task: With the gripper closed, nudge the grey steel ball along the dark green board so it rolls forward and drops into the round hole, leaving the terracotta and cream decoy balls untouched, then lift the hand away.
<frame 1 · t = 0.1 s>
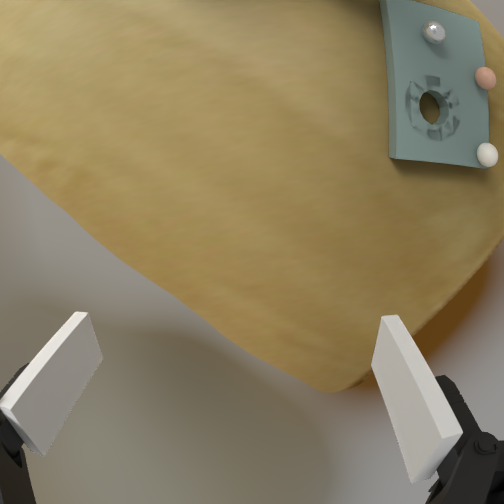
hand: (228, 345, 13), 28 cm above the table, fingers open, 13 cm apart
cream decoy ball: (487, 154, 31), point 4 cm above the table, touching board
board: (436, 82, 32), on the table
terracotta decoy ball: (485, 78, 27), point 4 cm above the table, touching board
steel ball: (434, 32, 26), point 4 cm above the table, touching board
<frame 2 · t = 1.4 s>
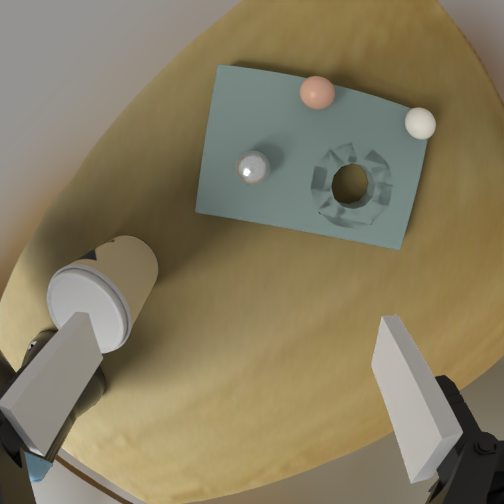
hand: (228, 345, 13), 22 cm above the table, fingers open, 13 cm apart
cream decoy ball: (420, 123, 25), point 4 cm above the table, touching board
coffee cup: (130, 264, 37), on the table
board: (315, 156, 31), on the table
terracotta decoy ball: (317, 92, 25), point 4 cm above the table, touching board
steel ball: (252, 167, 28), point 4 cm above the table, touching board
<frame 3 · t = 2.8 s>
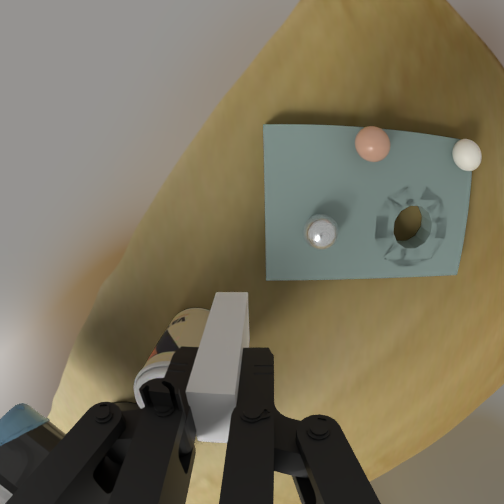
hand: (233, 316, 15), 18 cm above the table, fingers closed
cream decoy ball: (467, 154, 24), point 4 cm above the table, touching board
coffee cup: (200, 333, 38), on the table
board: (371, 201, 31), on the table
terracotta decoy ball: (372, 144, 25), point 4 cm above the table, touching board
steel ball: (321, 231, 28), point 4 cm above the table, touching board
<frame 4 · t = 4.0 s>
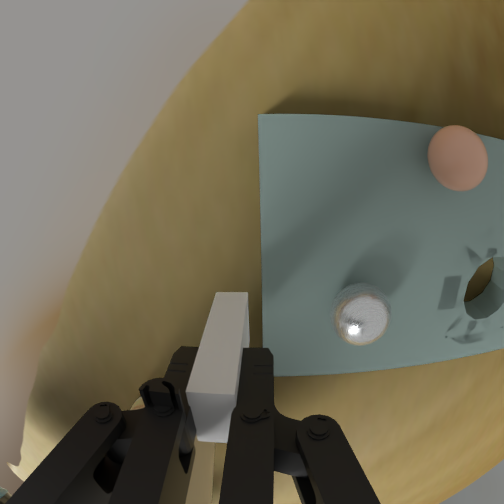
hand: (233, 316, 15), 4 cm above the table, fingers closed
coffee cup: (173, 419, 25), on the table
board: (432, 247, 18), on the table
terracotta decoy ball: (458, 158, 12), point 4 cm above the table, touching board
steel ball: (360, 314, 15), point 4 cm above the table, touching board
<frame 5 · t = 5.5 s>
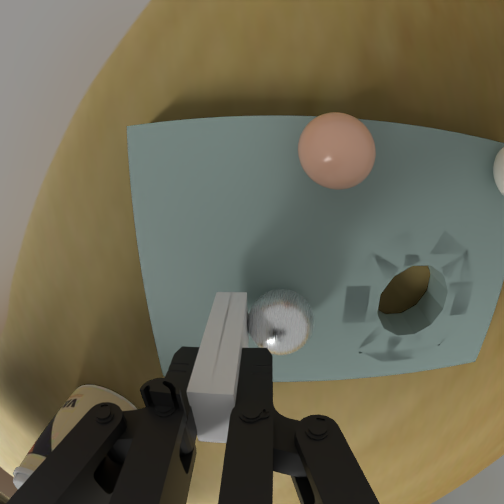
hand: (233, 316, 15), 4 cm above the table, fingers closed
coffee cup: (109, 411, 25), on the table
board: (342, 253, 18), on the table
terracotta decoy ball: (336, 150, 12), point 4 cm above the table, touching board
steel ball: (280, 322, 15), point 4 cm above the table, tilted 75°, touching board, gripper
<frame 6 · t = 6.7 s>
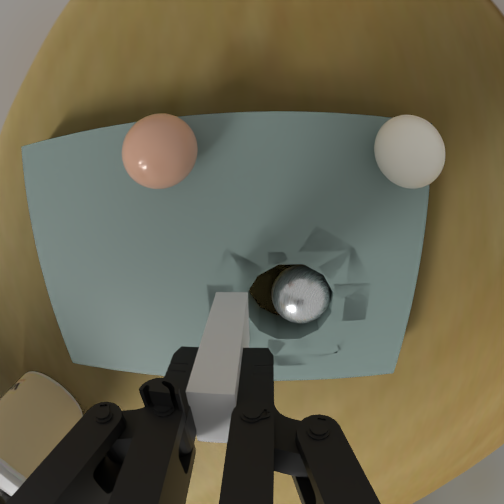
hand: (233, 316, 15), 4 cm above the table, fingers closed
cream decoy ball: (410, 151, 12), point 4 cm above the table, touching board
coffee cup: (52, 397, 25), on the table
board: (217, 251, 18), on the table
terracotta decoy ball: (159, 151, 12), point 4 cm above the table, touching board
steel ball: (300, 294, 17), point 2 cm above the table, tilted 46°
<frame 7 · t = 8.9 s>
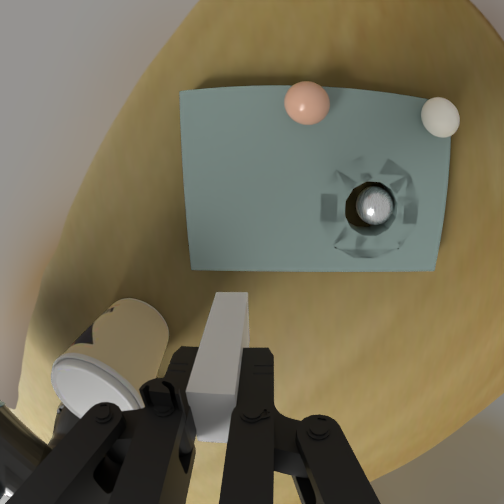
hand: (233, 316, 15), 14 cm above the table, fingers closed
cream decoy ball: (440, 117, 19), point 4 cm above the table, touching board
coffee cup: (138, 326, 34), on the table
board: (320, 177, 26), on the table
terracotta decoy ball: (307, 103, 20), point 4 cm above the table, touching board
steel ball: (374, 205, 25), point 2 cm above the table, tilted 41°
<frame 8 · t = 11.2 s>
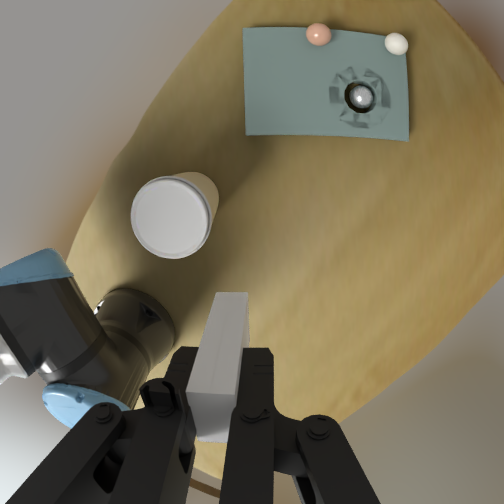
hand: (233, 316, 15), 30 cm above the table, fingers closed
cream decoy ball: (396, 43, 31), point 4 cm above the table, touching board
coffee cup: (192, 198, 44), on the table
board: (327, 83, 37), on the table
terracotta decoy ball: (318, 34, 31), point 4 cm above the table, touching board
steel ball: (361, 96, 36), point 2 cm above the table, tilted 35°
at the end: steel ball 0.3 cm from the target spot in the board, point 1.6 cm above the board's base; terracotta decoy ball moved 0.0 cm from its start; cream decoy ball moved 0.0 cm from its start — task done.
